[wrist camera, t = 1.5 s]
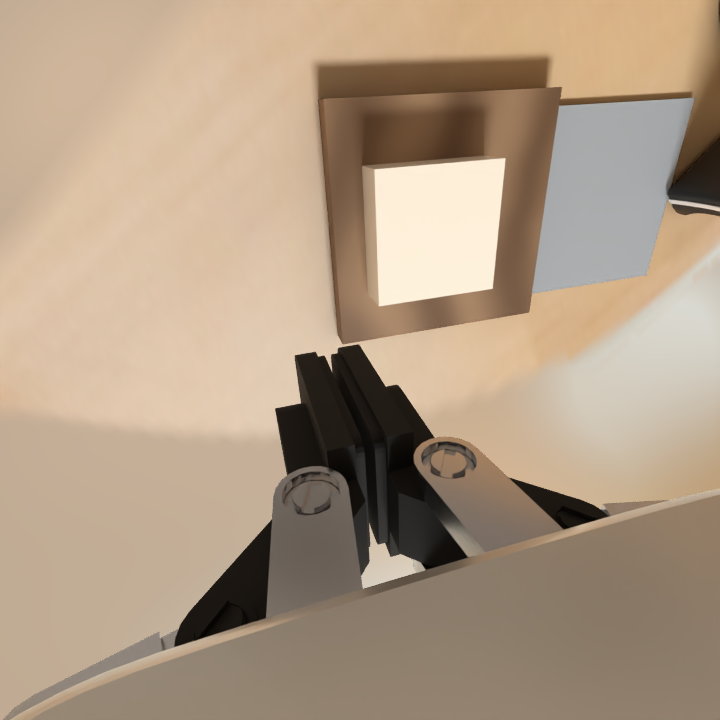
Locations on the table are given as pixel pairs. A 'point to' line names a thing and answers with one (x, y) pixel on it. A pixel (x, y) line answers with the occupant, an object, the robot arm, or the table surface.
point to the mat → (607, 190)
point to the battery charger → (699, 186)
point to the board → (431, 142)
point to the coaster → (431, 227)
